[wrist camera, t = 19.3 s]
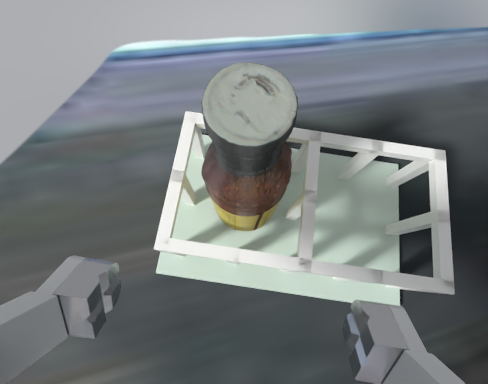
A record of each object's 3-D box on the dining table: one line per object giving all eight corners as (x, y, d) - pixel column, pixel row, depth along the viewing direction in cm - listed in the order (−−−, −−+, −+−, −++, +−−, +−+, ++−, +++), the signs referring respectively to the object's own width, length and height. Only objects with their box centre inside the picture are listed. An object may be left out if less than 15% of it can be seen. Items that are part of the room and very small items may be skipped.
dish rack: (393, 167, 34) (449, 131, 25) (394, 308, 29) (463, 324, 20) (188, 136, 34) (173, 89, 25) (158, 273, 29) (127, 273, 20)
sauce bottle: (262, 172, 32) (308, 20, 13) (280, 224, 30) (364, 142, 11) (206, 187, 31) (164, 52, 12) (221, 242, 29) (203, 187, 10)
